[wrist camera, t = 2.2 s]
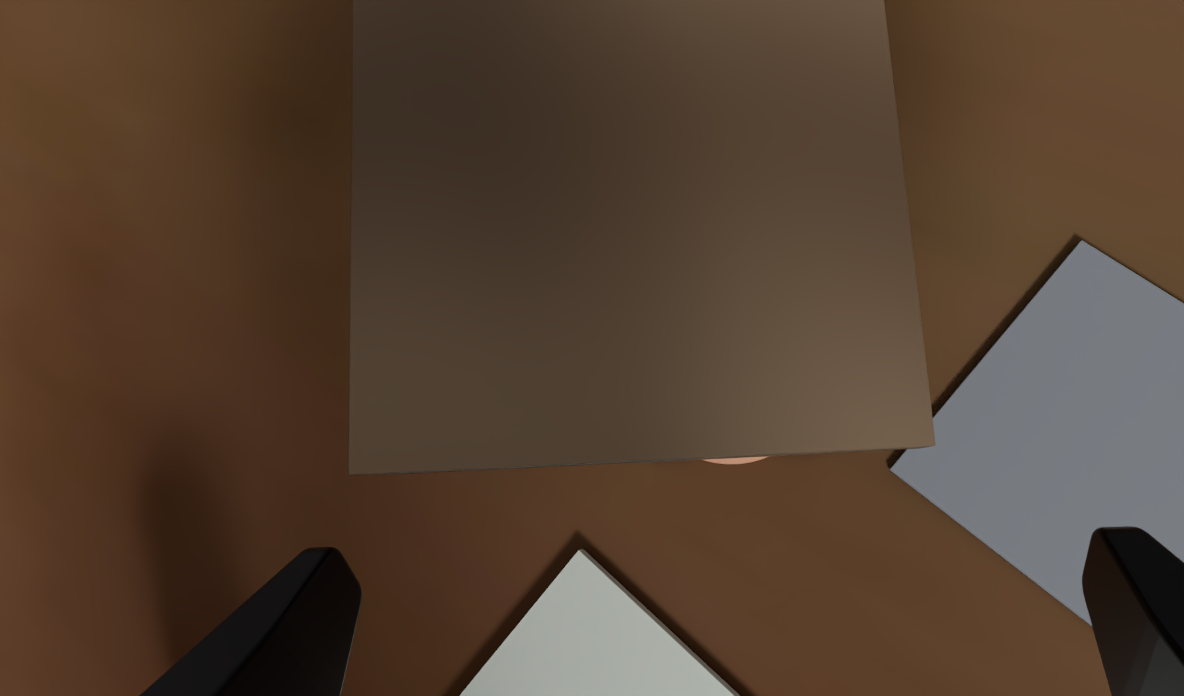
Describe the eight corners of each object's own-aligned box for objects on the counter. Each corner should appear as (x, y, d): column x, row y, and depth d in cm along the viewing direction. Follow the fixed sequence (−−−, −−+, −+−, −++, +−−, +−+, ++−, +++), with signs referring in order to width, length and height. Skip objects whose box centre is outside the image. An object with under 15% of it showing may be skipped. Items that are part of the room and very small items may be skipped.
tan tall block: (840, 463, 19) (935, 446, 6) (637, 472, 20) (348, 473, 7) (820, 264, 20) (868, -134, 7) (627, 284, 21) (353, -21, 8)
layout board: (709, 1421, 17) (707, 1447, 16) (246, 822, 22) (234, 829, 21) (1511, 511, 16) (1532, 512, 15) (838, 91, 20) (839, 83, 20)
